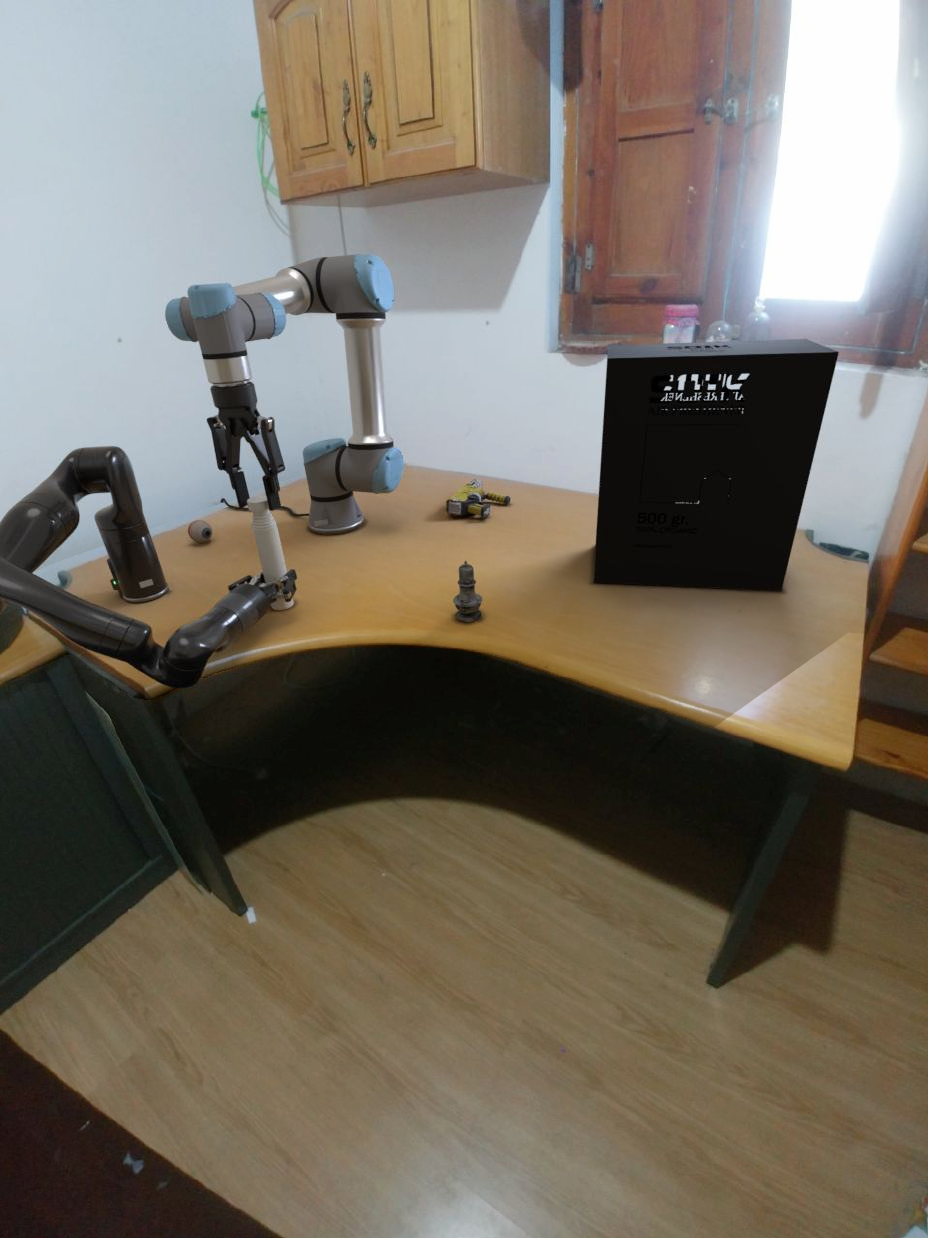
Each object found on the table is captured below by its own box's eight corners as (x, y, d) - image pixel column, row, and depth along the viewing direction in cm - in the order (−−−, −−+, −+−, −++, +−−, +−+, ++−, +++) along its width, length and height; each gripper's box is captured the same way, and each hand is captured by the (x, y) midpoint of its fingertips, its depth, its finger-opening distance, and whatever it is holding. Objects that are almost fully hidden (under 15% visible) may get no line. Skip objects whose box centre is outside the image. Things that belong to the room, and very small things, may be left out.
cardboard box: (760, 550, 140) (805, 338, 118) (781, 591, 123) (838, 351, 101) (595, 545, 148) (608, 345, 125) (593, 582, 131) (607, 358, 108)
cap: (275, 507, 118) (273, 498, 117) (254, 513, 116) (252, 504, 115) (265, 502, 121) (263, 493, 120) (245, 508, 119) (242, 499, 118)
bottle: (290, 597, 132) (268, 497, 121) (296, 606, 129) (274, 503, 117) (269, 603, 130) (244, 501, 119) (274, 612, 127) (249, 508, 115)
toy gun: (518, 484, 183) (472, 477, 187) (496, 507, 163) (444, 499, 167) (517, 499, 185) (471, 492, 189) (494, 524, 165) (443, 515, 169)
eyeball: (201, 547, 160) (195, 526, 157) (186, 543, 163) (180, 522, 160) (220, 539, 164) (214, 518, 161) (205, 536, 167) (199, 515, 164)
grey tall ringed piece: (480, 623, 118) (477, 567, 112) (451, 621, 119) (447, 566, 113) (485, 608, 123) (483, 554, 117) (457, 607, 124) (453, 553, 118)
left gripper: (211, 625, 118) (257, 585, 132) (276, 631, 115) (316, 590, 129) (200, 591, 114) (249, 554, 128) (268, 596, 111) (310, 558, 125)
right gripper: (289, 379, 107) (312, 504, 118) (203, 378, 113) (233, 497, 125) (262, 387, 101) (289, 517, 112) (173, 385, 107) (207, 509, 119)
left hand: (282, 572), depth 129 cm, fingers closed on bottle, 4 cm apart
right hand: (260, 506), depth 118 cm, fingers open, 7 cm apart
